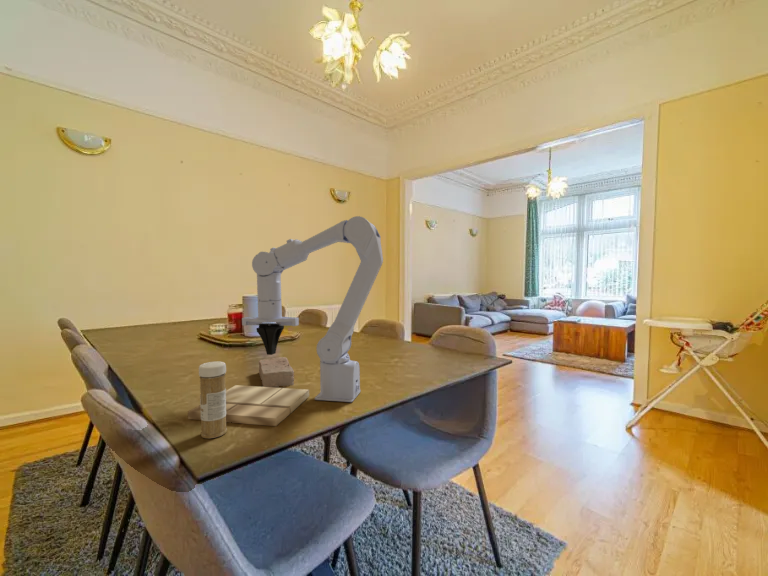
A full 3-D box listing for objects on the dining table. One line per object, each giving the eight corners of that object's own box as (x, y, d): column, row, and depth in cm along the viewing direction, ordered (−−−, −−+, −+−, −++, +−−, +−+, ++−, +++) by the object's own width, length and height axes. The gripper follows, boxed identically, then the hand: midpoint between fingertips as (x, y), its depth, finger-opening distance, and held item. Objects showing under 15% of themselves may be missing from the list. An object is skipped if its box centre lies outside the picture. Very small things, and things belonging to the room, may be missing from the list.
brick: (295, 386, 94) (295, 368, 94) (262, 390, 91) (262, 372, 91) (286, 371, 109) (286, 356, 109) (258, 374, 106) (258, 359, 106)
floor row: (289, 414, 74) (289, 406, 74) (275, 426, 68) (275, 417, 68) (207, 407, 78) (207, 400, 78) (188, 418, 72) (187, 410, 72)
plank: (309, 396, 85) (309, 389, 84) (290, 413, 75) (290, 405, 75) (236, 391, 88) (235, 384, 88) (209, 407, 79) (208, 399, 78)
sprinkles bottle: (200, 431, 66) (198, 362, 66) (226, 426, 68) (224, 359, 68) (200, 441, 62) (198, 368, 62) (228, 436, 64) (226, 364, 64)
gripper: (234, 301, 84) (235, 356, 85) (289, 301, 82) (290, 358, 82) (250, 299, 91) (251, 350, 92) (301, 299, 89) (303, 351, 89)
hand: (271, 353), depth 88 cm, fingers closed
